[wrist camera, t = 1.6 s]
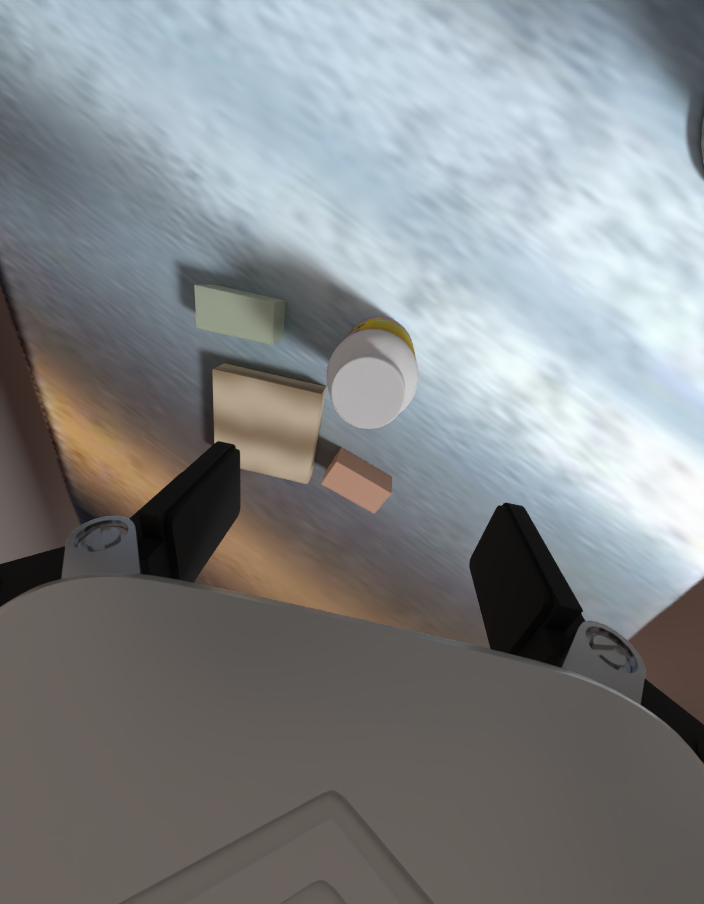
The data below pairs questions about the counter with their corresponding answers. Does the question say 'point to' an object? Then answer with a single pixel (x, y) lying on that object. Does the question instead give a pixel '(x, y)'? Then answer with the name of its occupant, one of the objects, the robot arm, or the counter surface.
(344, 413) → the supplement bottle
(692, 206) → the counter surface
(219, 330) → the sage brick
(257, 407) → the maple slab
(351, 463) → the terracotta brick
